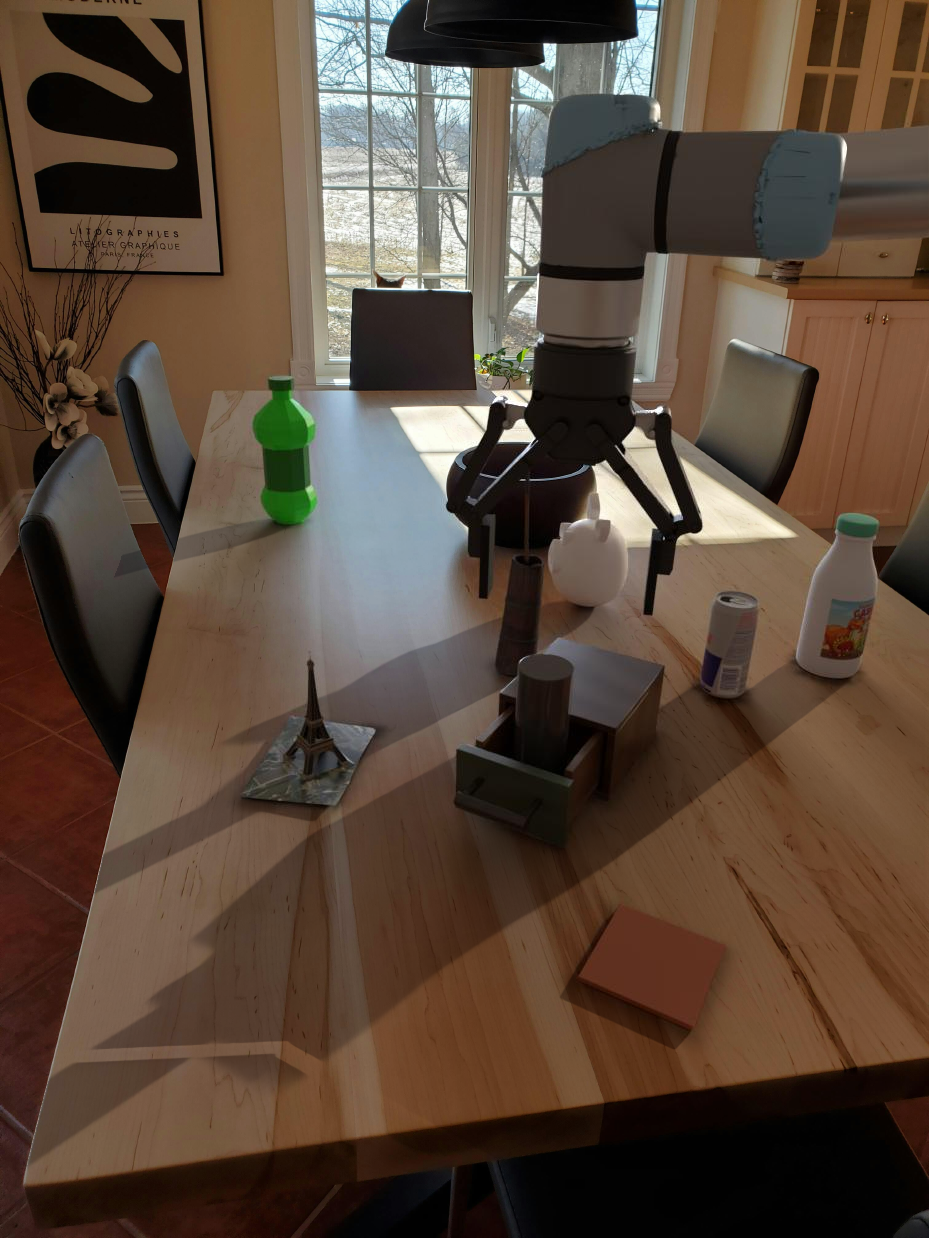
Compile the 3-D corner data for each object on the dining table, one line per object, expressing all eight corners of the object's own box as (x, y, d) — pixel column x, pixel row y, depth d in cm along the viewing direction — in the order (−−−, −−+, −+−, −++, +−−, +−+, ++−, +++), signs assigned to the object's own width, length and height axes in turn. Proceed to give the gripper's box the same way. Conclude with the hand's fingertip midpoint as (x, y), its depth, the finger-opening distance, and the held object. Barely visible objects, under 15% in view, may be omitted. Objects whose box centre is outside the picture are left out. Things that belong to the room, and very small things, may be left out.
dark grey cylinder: (572, 776, 90) (583, 662, 84) (551, 804, 85) (560, 686, 80) (526, 760, 92) (532, 648, 86) (502, 787, 88) (508, 670, 82)
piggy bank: (531, 591, 135) (536, 495, 128) (602, 582, 138) (610, 489, 132) (564, 626, 124) (572, 524, 118) (640, 616, 128) (652, 516, 121)
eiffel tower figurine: (289, 719, 102) (282, 612, 96) (377, 728, 100) (374, 621, 95) (239, 799, 88) (227, 682, 83) (339, 811, 87) (333, 693, 81)
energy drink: (706, 673, 113) (720, 586, 108) (749, 684, 111) (765, 596, 106) (693, 691, 109) (707, 602, 104) (738, 704, 107) (754, 613, 101)
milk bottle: (791, 671, 114) (821, 522, 105) (798, 646, 120) (827, 504, 112) (856, 685, 111) (892, 533, 102) (860, 659, 117) (895, 513, 109)
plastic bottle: (327, 512, 165) (320, 374, 154) (305, 532, 155) (296, 386, 145) (276, 507, 167) (266, 370, 156) (251, 526, 157) (238, 381, 147)
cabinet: (608, 801, 89) (616, 728, 85) (496, 763, 95) (499, 692, 91) (656, 732, 101) (665, 665, 97) (553, 701, 106) (558, 637, 102)
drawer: (543, 875, 78) (548, 812, 75) (432, 831, 83) (432, 771, 80) (617, 772, 92) (623, 716, 89) (517, 740, 97) (520, 686, 94)
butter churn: (564, 688, 109) (582, 464, 97) (486, 690, 108) (494, 464, 96) (552, 652, 117) (567, 441, 105) (479, 653, 117) (486, 441, 104)
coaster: (725, 949, 72) (726, 944, 72) (692, 1031, 65) (692, 1026, 65) (619, 907, 76) (620, 903, 76) (577, 980, 69) (577, 975, 69)
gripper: (756, 339, 67) (716, 596, 77) (431, 323, 71) (430, 569, 81) (767, 355, 61) (721, 635, 70) (408, 337, 65) (410, 603, 74)
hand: (565, 600), depth 75 cm, fingers open, 13 cm apart
